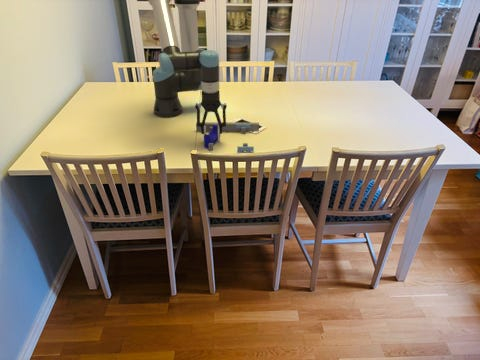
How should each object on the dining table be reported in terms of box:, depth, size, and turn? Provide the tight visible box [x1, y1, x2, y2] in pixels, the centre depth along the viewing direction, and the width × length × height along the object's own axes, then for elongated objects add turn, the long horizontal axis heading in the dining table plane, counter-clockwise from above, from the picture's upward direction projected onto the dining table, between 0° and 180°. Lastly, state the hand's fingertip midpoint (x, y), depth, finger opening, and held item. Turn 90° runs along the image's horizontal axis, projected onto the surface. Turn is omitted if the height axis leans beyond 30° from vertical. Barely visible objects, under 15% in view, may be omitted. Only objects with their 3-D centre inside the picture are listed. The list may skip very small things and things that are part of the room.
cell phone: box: [229, 117, 267, 135], centre depth 168 cm, size 9×18×1 cm, turn 51°
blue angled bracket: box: [203, 124, 219, 149], centre depth 151 cm, size 12×4×6 cm, turn 162°
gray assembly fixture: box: [195, 121, 260, 153], centre depth 153 cm, size 30×22×4 cm
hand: (212, 139), depth 153 cm, fingers closed on blue angled bracket, 5 cm apart
